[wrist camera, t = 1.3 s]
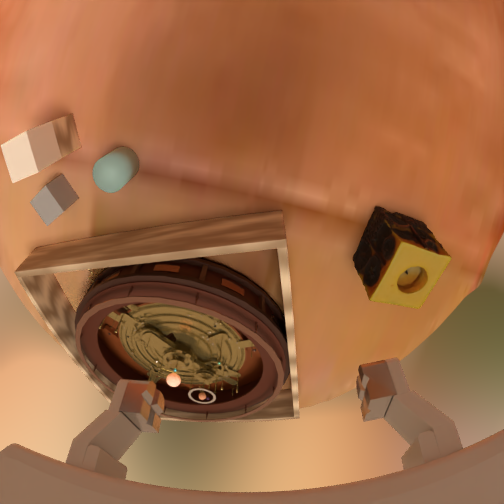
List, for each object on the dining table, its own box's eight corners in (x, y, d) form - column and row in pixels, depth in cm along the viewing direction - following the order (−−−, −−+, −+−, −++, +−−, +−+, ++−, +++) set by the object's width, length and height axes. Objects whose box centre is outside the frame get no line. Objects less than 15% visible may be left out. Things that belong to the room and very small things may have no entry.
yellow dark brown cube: (375, 204, 42) (400, 239, 33) (425, 221, 43) (454, 255, 35) (349, 259, 47) (366, 301, 39) (398, 271, 48) (420, 310, 40)
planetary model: (159, 187, 42) (129, 227, 32) (329, 346, 60) (337, 393, 50) (53, 311, 57) (31, 349, 47) (193, 405, 76) (188, 441, 66)
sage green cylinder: (104, 151, 38) (88, 161, 34) (134, 143, 37) (119, 152, 33) (113, 182, 41) (99, 195, 36) (143, 175, 40) (130, 188, 36)
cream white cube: (25, 133, 30) (0, 145, 26) (51, 120, 30) (26, 130, 25) (35, 168, 33) (12, 183, 29) (62, 158, 33) (38, 172, 28)
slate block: (46, 189, 41) (30, 202, 37) (62, 173, 40) (45, 185, 35) (62, 212, 43) (47, 226, 39) (79, 197, 42) (63, 211, 38)
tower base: (47, 124, 35) (25, 133, 30) (72, 113, 34) (51, 120, 30) (55, 156, 38) (35, 168, 33) (81, 147, 37) (61, 158, 33)
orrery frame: (36, 247, 47) (14, 271, 41) (282, 210, 43) (286, 238, 36) (128, 391, 73) (121, 415, 67) (297, 390, 69) (299, 418, 62)
